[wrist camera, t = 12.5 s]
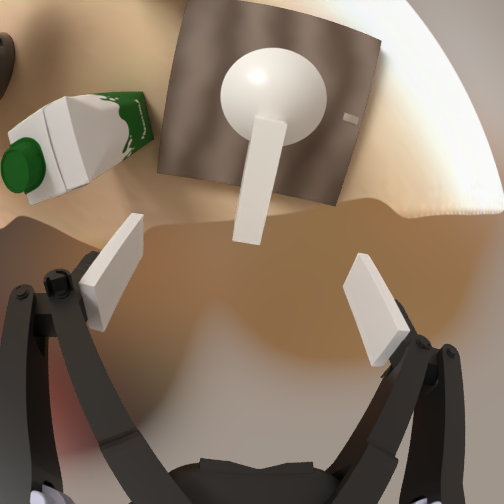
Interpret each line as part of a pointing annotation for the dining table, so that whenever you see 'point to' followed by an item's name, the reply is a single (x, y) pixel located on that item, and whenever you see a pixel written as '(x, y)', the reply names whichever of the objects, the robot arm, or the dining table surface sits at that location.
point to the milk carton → (74, 142)
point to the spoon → (268, 123)
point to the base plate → (210, 82)
